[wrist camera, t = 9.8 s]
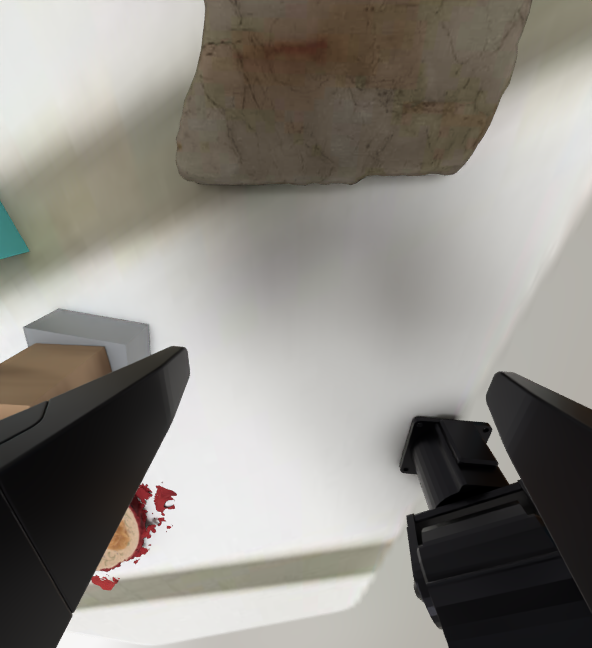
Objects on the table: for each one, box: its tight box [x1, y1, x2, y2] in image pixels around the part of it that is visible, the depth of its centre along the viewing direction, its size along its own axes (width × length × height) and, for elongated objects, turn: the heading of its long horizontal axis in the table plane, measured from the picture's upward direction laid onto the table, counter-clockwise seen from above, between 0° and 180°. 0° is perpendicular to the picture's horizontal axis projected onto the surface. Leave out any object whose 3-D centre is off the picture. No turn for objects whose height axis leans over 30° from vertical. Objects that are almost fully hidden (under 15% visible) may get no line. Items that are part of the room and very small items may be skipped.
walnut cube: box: [0, 343, 112, 420], centre depth 19 cm, size 5×5×6 cm
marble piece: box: [176, 0, 532, 185], centre depth 14 cm, size 17×15×4 cm
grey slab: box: [23, 309, 150, 372], centre depth 24 cm, size 7×7×4 cm
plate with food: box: [91, 482, 177, 590], centre depth 34 cm, size 25×26×4 cm
